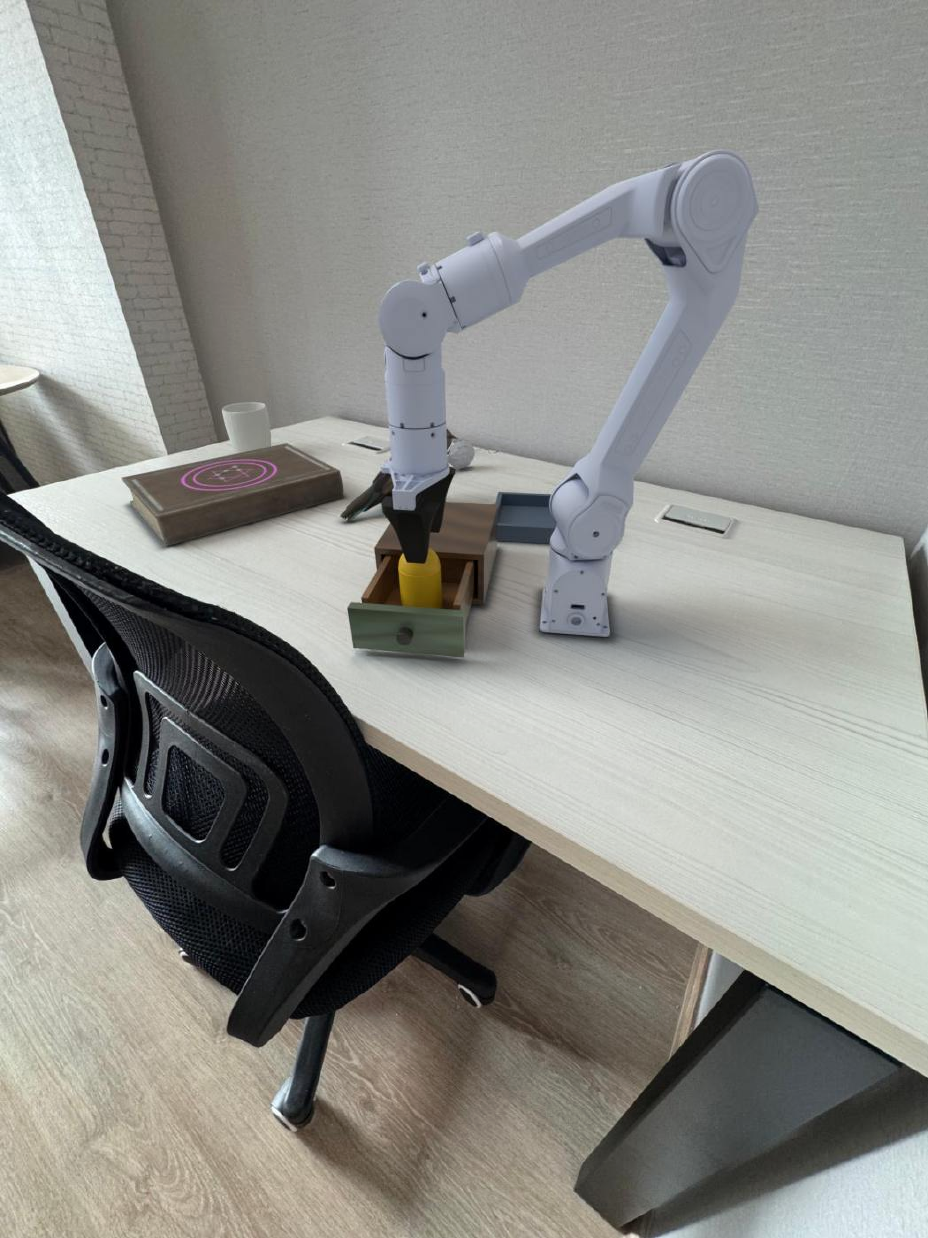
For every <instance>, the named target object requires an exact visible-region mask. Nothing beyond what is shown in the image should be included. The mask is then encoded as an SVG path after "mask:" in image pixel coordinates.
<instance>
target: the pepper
mask: <svg viewBox="0 0 928 1238" xmlns="http://www.w3.org/2000/svg"><path fill="white" fill-rule="evenodd" d="M398 570H399V581H400V593H401V604H402V606H410V607H423V608H436V609H442V586H441V565H440V561H439V558H438V556H437V554H436V553H435V552H434V551H433V550H432V549H431V548H429V550H428V556H427V559H426V562H425V563H424V564H420V563H407V562H406V560H405V557H404V554H402V555H401V557H400V560H399V566H398Z"/></svg>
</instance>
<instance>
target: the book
mask: <svg viewBox="0 0 928 1238" xmlns="http://www.w3.org/2000/svg"><path fill="white" fill-rule="evenodd" d="M121 480H122V482H123V484H125V486H126V487H127V488H128V489H129V491H130V494H131V496H132V497H131V498H132V500H130V501H129V503H130V505H131V506H132V507H133V509H134V510H135V511H136V513H138V514H139V516H140V517H141V518H142V519H143V520H144V522H145V523H146V524H147V525H148V526H149V528H150V529H151V530H152V531H153V532H154V533H155V535H156V536H157V537H158V538H159V539H160V541H161V542H162V543H163V544H164V546H165V547H168V546H172V545H173V546H174V545H176V544H179V543H183V542H187V541H190V540H194V539H197V538H198V539H199V538H201V537H204V536H208V535H212V534H215V533H216V534H217V533H219V532H223V531H227V530H230V529H235V528H237V527H240V526H241V527H242V526H244V525H249V524H251V523H255V522H259V521H263V520H265V519H269V518H273V517H277V516H281V515H284V514H288V513H292V512H294V511H298V510H302V509H306V508H309V507H313V506H316V505H320V504H323V503H327V502H331V501H334V500H338V499H342V498H344V483H343V477H342V474H341V470H340V469H338V468H337V467H334V466H332V465H330V464H328V463H326V462H325V461H322V460H321V459H319V458H317V457H315V456H313V455H311V454H310V453H307V452H305V451H303V450H301V449H300V448H297V447H296V446H294V445H292V444H290V443H288V442H284V443H281V444H275V445H271V446H270V447H266V448H261V449H256V450H251V451H246V452H242V453H232V454H227V455H224V456H218V457H213V458H209V459H204V460H199V461H195V462H190V463H185V464H180V465H175V466H171V467H166V468H160V469H156V470H152V471H147V472H141V473H137V474H133V475H127V476H123V477H121Z"/></svg>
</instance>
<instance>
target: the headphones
mask: <svg viewBox="0 0 928 1238" xmlns="http://www.w3.org/2000/svg"><path fill="white" fill-rule="evenodd" d="M446 432H447V433H449V434H452V432H451V431H450V430H449V428H447V427H446ZM452 441H453V439H447V461H448V463H449V465H451V467H453V468H455V469H465V468H467V467H469V466H470V465H471V463H472V462H473V460H474V458H475V452H476V451H479V450H480V451H481V448H480V449H479V448H478V449H474V448H475V447H474V445H472V442H470V441H469V440H465V439H458V440H457V441H455V442H454V443H453V444H452ZM501 450H502V448H500V449H498V450H496V451H495V452H494V454H496V453H498V452H500V451H501ZM485 451H487V452H488V454H490V450H489V449H487V448H485ZM390 460H391V456H390V457H389V461H390Z"/></svg>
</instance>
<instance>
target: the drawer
mask: <svg viewBox="0 0 928 1238" xmlns="http://www.w3.org/2000/svg"><path fill="white" fill-rule="evenodd" d="M400 557H401V555H389V554H386V556H385V558H384V560H383V561H382V563H381V565H380V566H379V568H378V570H377V569H376V572H375V573H374V575H373V576H372V578H371V580H370V582H369V583H368V585H367V587H366V589H365V590H364V592H363V594H362V596H361V597H360V601H361V602H358V601H357V602H355V601H351V602H350V603H349V604H348V606H347V608H346V610H347V615H348V622H349V628H350V636H351V642H352V648H353V649H360V650H361V649H362V650H372V651H383V652H395V653H405V654H406V653H407V654H418V655H429V656H440V657H452V658H462V659H464V658H465V656H466V651H467V650H466V645H467V644H466V625H467V622H468V618H469V614H470V610H471V606H472V605H473V604H472V600H473V596H474V593H475V589H476V560H468V559H452V558H439V561H440V565H441V586H442V609H436V608H423V607H410V606H402V604H401V593H400V581H399V570H398V566H399V560H400Z"/></svg>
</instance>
